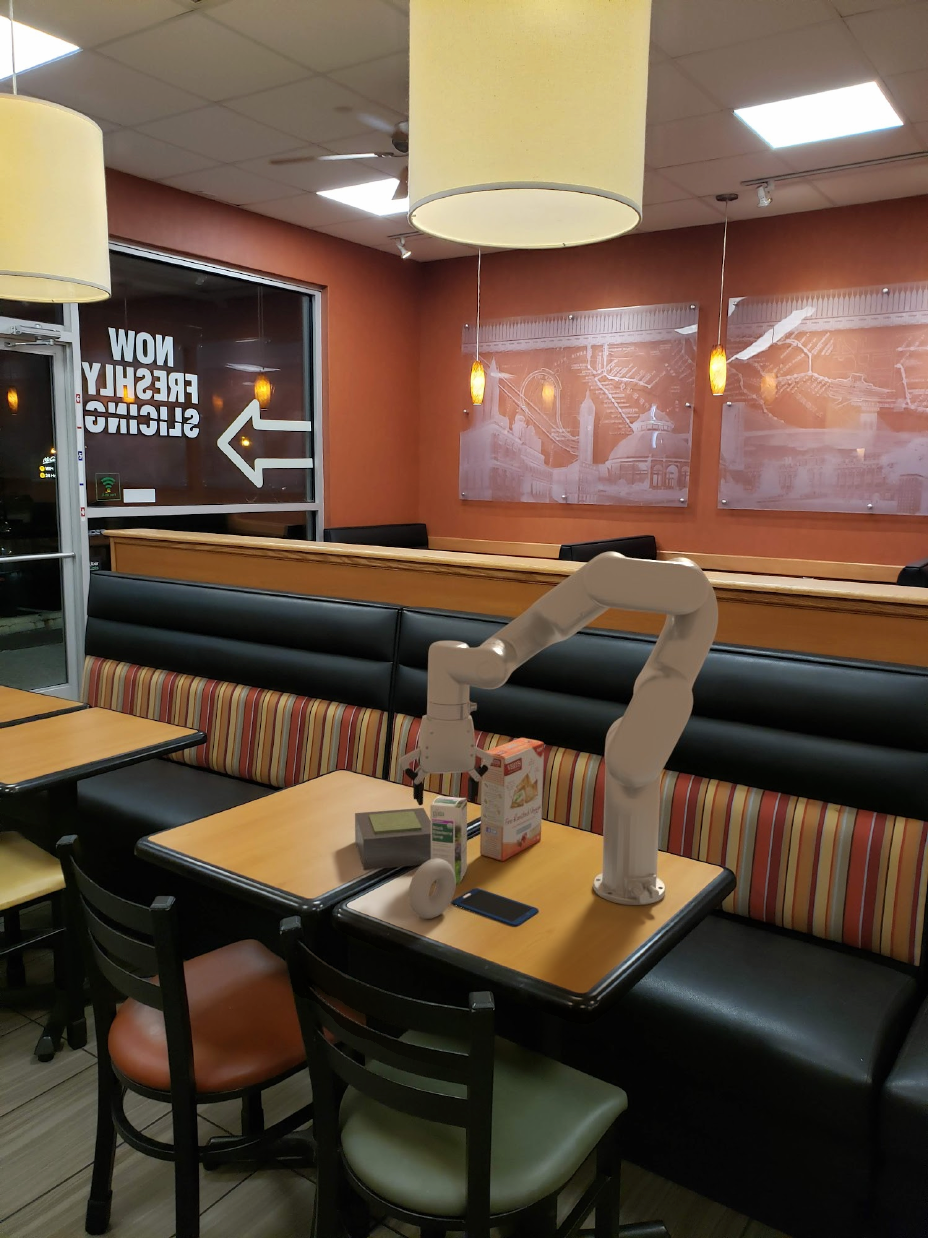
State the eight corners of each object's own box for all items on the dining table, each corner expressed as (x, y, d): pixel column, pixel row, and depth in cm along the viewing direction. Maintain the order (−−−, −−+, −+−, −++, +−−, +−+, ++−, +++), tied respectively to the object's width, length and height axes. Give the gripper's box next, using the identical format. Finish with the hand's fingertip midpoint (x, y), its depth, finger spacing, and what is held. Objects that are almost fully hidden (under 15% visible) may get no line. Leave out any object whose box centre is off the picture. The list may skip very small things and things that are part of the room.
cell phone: (475, 890, 162) (475, 886, 162) (540, 913, 153) (540, 909, 153) (449, 905, 156) (449, 901, 156) (516, 930, 148) (516, 925, 148)
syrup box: (429, 881, 165) (429, 804, 163) (438, 868, 171) (438, 793, 168) (460, 884, 164) (460, 807, 161) (467, 871, 169) (468, 796, 167)
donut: (419, 931, 146) (419, 872, 145) (404, 924, 149) (403, 866, 147) (460, 909, 154) (460, 853, 152) (445, 903, 156) (445, 848, 155)
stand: (437, 863, 173) (437, 831, 172) (363, 870, 169) (363, 837, 168) (423, 835, 186) (423, 806, 185) (355, 841, 183) (354, 811, 182)
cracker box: (504, 863, 173) (505, 757, 170) (478, 855, 176) (479, 751, 173) (543, 840, 184) (545, 740, 181) (518, 833, 187) (520, 735, 184)
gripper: (489, 703, 168) (486, 792, 171) (397, 706, 164) (395, 797, 167) (500, 714, 161) (496, 806, 163) (403, 717, 157) (401, 811, 159)
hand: (445, 801), depth 165 cm, fingers open, 9 cm apart
